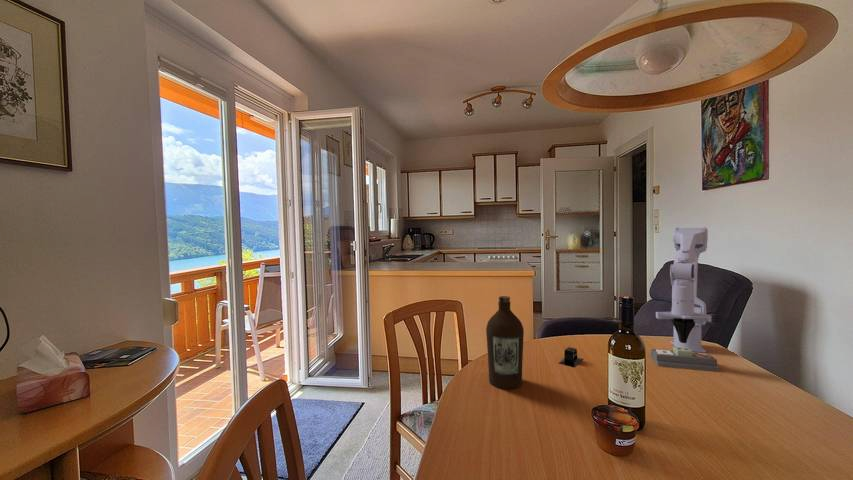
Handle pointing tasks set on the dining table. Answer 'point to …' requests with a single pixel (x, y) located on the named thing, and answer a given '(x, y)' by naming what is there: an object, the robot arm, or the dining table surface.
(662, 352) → the key one pip
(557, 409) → the dining table surface
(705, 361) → the keypad base
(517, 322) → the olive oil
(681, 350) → the key two pip
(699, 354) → the key three pip
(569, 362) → the black block
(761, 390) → the dining table surface
